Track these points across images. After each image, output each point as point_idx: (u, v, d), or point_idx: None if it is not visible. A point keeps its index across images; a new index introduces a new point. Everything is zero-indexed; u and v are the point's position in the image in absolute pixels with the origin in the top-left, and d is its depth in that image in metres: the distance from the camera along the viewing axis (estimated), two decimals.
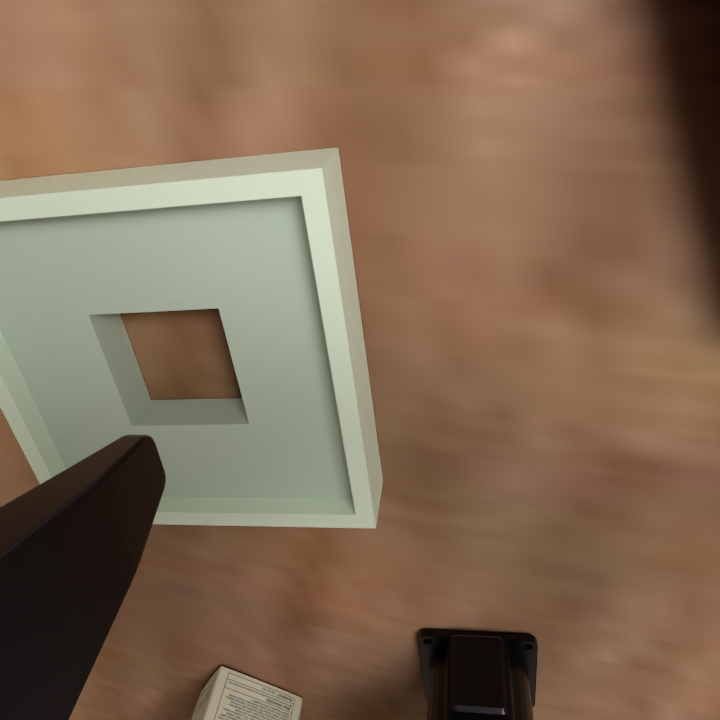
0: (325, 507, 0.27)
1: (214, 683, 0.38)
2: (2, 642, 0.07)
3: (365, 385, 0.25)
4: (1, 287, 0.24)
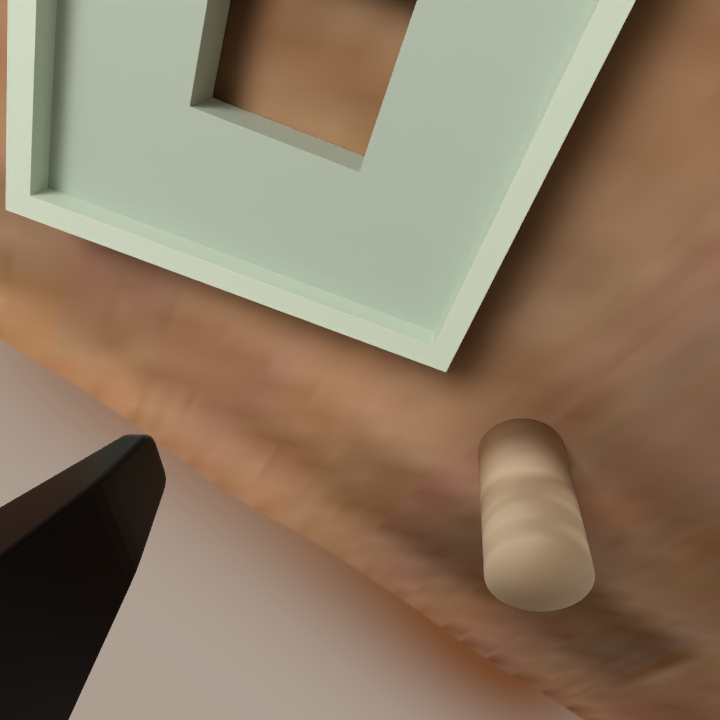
0: None
1: None
2: (2, 642, 0.07)
3: None
4: (132, 191, 0.20)
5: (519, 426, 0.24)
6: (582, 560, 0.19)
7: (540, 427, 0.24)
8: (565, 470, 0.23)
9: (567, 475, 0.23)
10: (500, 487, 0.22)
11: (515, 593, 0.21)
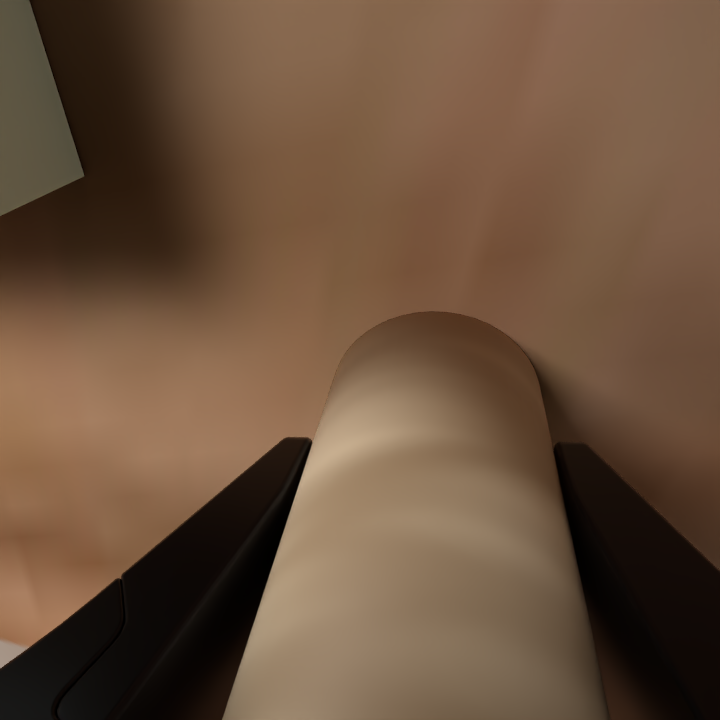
0: None
1: None
2: (221, 660, 0.06)
3: None
4: None
5: (373, 339, 0.09)
6: None
7: (425, 323, 0.09)
8: (488, 409, 0.07)
9: (493, 422, 0.07)
10: (286, 526, 0.07)
11: None
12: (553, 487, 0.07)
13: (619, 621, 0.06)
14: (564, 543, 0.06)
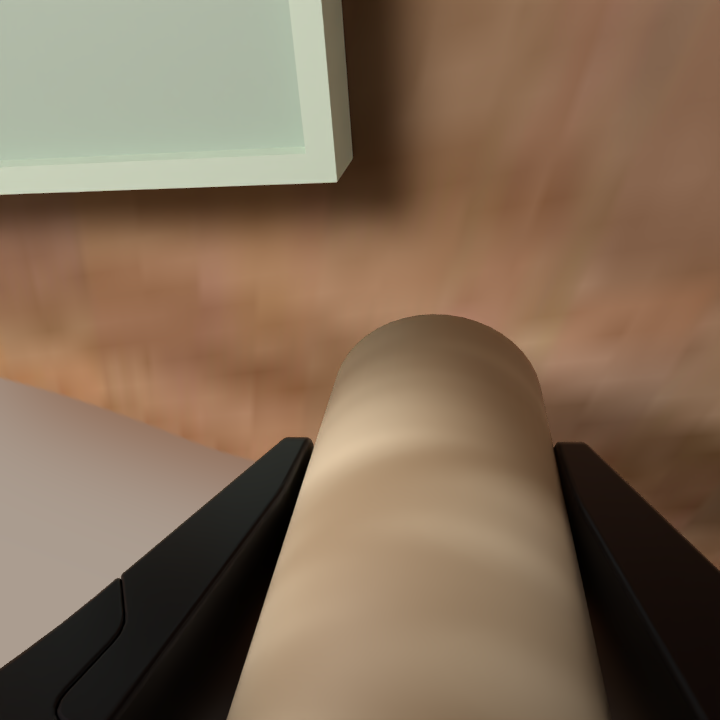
0: None
1: None
2: (221, 660, 0.06)
3: None
4: None
5: (375, 342, 0.09)
6: None
7: (426, 325, 0.09)
8: (490, 412, 0.07)
9: (495, 426, 0.07)
10: (288, 529, 0.07)
11: None
12: (554, 490, 0.07)
13: (619, 621, 0.06)
14: (565, 546, 0.06)
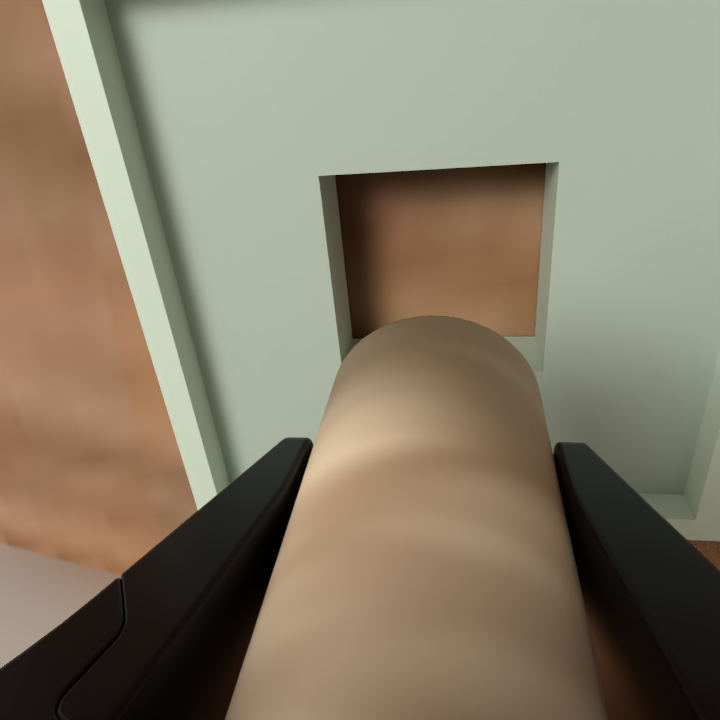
0: None
1: None
2: (221, 660, 0.06)
3: None
4: None
5: (374, 344, 0.09)
6: None
7: (425, 326, 0.09)
8: (488, 414, 0.07)
9: (493, 428, 0.07)
10: (287, 531, 0.07)
11: None
12: (553, 492, 0.07)
13: (619, 621, 0.06)
14: (563, 548, 0.06)
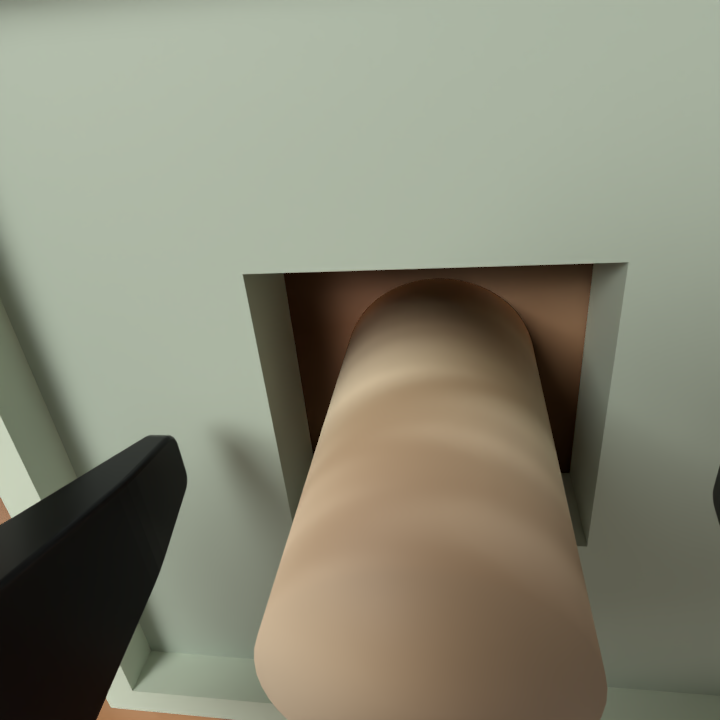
0: None
1: None
2: (32, 645, 0.07)
3: None
4: (256, 634, 0.14)
5: (385, 302, 0.11)
6: (513, 607, 0.05)
7: (431, 287, 0.10)
8: (487, 354, 0.09)
9: (491, 364, 0.09)
10: (316, 451, 0.08)
11: None
12: (542, 417, 0.08)
13: None
14: (550, 457, 0.08)
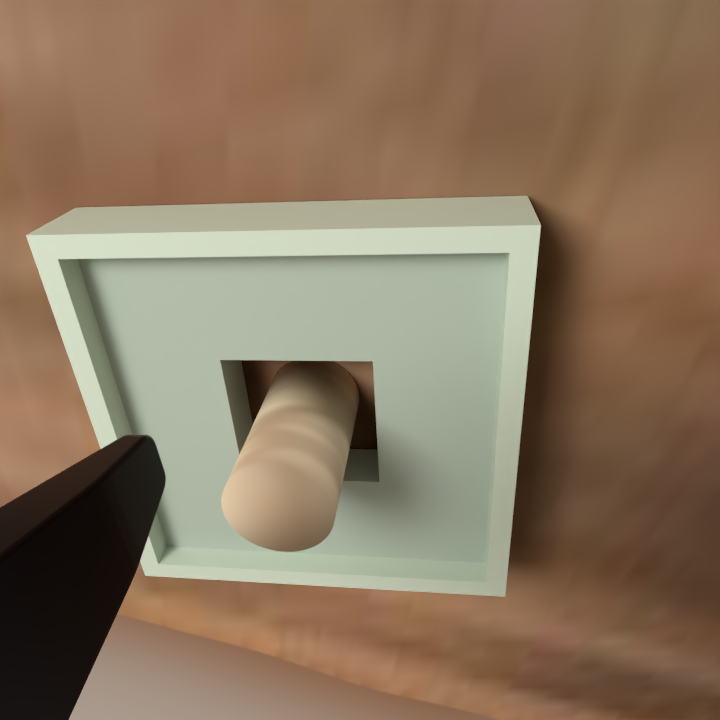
0: (505, 292, 0.18)
1: None
2: (2, 642, 0.07)
3: (331, 209, 0.19)
4: (224, 533, 0.26)
5: (286, 368, 0.23)
6: (299, 479, 0.18)
7: (306, 361, 0.23)
8: (320, 395, 0.21)
9: (321, 400, 0.21)
10: None
11: (273, 535, 0.19)
12: (340, 422, 0.21)
13: None
14: (336, 437, 0.20)
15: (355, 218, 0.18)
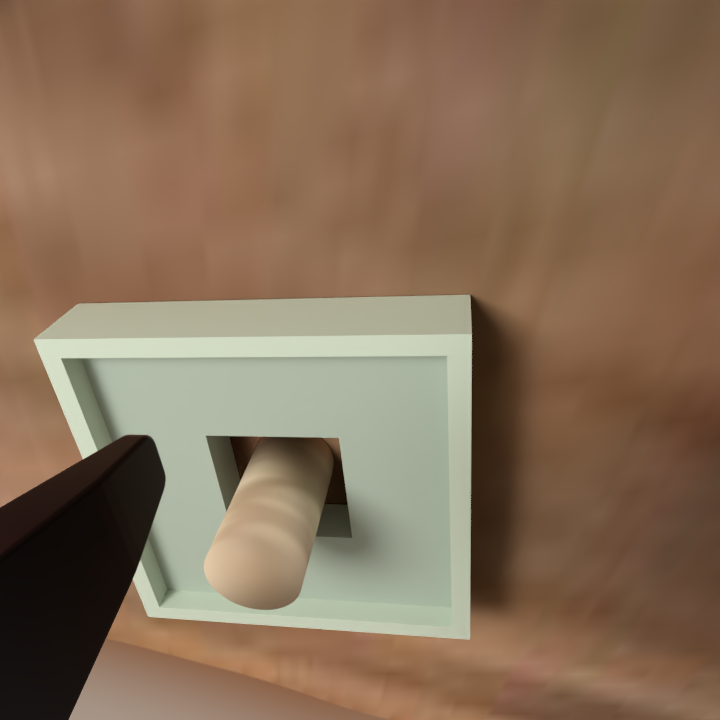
0: None
1: None
2: (2, 642, 0.07)
3: (296, 310, 0.22)
4: None
5: (267, 437, 0.26)
6: (269, 551, 0.21)
7: None
8: (294, 466, 0.24)
9: (294, 471, 0.24)
10: (230, 503, 0.24)
11: (250, 596, 0.22)
12: (311, 491, 0.24)
13: None
14: (306, 507, 0.23)
15: (315, 322, 0.21)
